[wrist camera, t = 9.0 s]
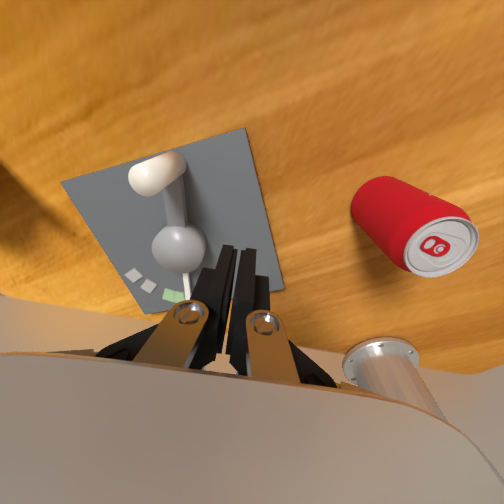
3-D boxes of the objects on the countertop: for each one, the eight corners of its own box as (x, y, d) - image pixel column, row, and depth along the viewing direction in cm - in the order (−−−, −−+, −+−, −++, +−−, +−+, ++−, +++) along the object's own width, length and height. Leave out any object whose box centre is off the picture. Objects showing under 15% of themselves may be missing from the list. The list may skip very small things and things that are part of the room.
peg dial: (211, 307, 36) (199, 350, 29) (170, 305, 36) (150, 347, 29) (201, 152, 25) (180, 165, 19) (144, 149, 25) (103, 161, 19)
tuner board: (283, 283, 35) (284, 289, 34) (148, 309, 39) (144, 315, 37) (245, 127, 25) (244, 128, 24) (67, 179, 29) (58, 182, 27)
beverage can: (379, 232, 31) (440, 293, 20) (338, 212, 30) (380, 266, 19) (415, 188, 28) (507, 232, 17) (371, 164, 27) (442, 196, 16)
